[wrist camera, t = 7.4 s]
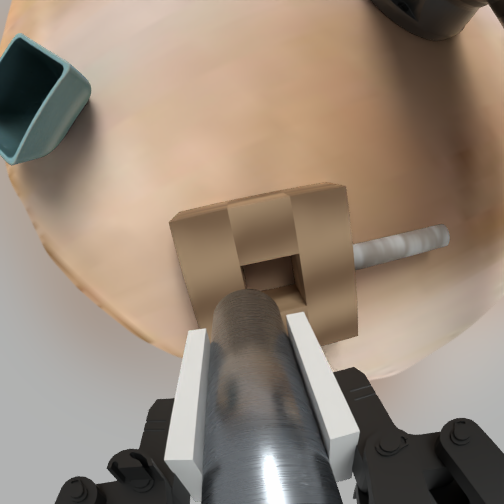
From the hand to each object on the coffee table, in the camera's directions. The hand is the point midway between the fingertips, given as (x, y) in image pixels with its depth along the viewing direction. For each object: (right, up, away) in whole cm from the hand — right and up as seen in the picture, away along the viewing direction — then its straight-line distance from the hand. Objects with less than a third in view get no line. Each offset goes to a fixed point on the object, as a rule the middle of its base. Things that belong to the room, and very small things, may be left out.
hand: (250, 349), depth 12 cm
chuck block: (+7, +4, +17) cm, 19 cm away
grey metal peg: (0, +1, +2) cm, 3 cm away
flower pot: (-19, +19, +11) cm, 29 cm away
